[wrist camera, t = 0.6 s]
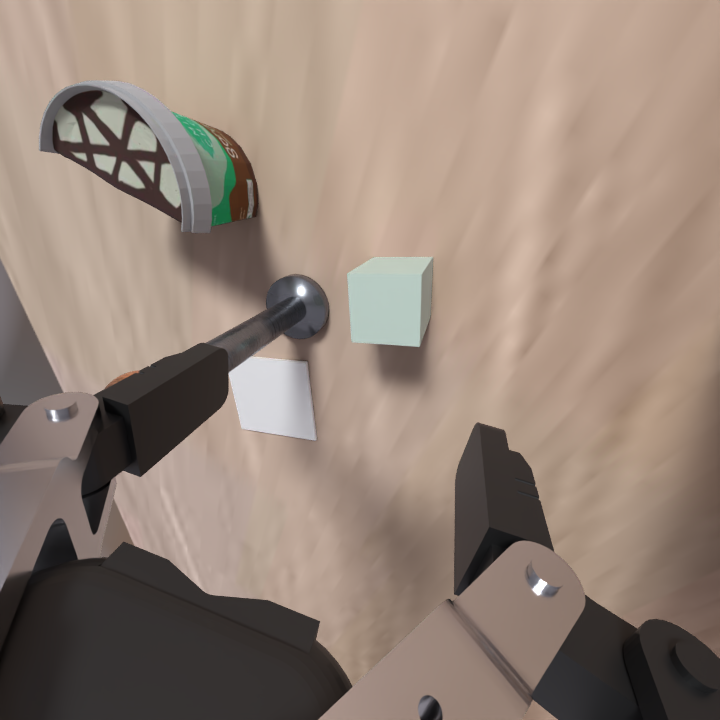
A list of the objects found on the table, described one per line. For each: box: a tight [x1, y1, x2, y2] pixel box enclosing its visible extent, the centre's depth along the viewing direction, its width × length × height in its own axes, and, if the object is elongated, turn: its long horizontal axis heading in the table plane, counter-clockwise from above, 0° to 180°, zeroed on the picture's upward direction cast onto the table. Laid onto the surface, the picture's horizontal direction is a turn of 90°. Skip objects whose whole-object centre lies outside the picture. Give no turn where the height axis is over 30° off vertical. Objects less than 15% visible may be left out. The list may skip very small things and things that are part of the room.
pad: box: [229, 356, 317, 441], centre depth 39 cm, size 10×10×1 cm
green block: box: [347, 257, 433, 347], centre depth 26 cm, size 5×5×7 cm
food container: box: [39, 81, 258, 233], centre depth 25 cm, size 12×6×10 cm, turn 65°
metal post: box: [105, 274, 329, 389], centre depth 24 cm, size 6×6×20 cm
